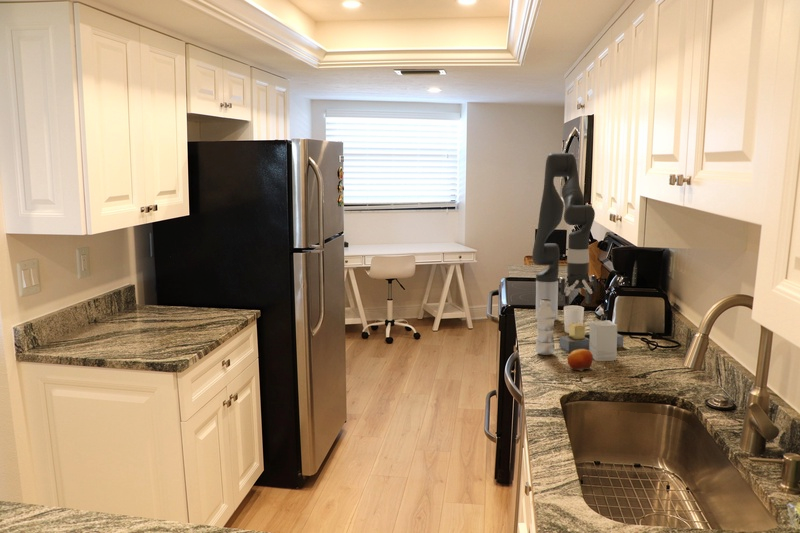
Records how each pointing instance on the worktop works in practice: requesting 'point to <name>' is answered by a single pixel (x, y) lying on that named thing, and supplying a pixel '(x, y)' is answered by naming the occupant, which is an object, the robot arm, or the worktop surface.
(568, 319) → the white cup
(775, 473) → the worktop surface
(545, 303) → the plastic bottle
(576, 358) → the fruit
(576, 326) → the pale yellow block
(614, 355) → the supplement box
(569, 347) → the gray compartment tray
